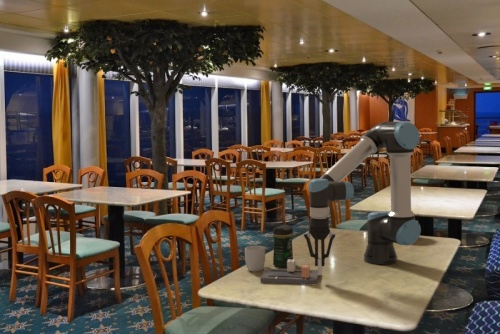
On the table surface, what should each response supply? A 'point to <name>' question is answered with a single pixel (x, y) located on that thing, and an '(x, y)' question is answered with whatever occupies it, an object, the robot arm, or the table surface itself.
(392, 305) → the table surface
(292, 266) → the block
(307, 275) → the fader near
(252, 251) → the mug
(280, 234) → the coffee jar
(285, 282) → the board
